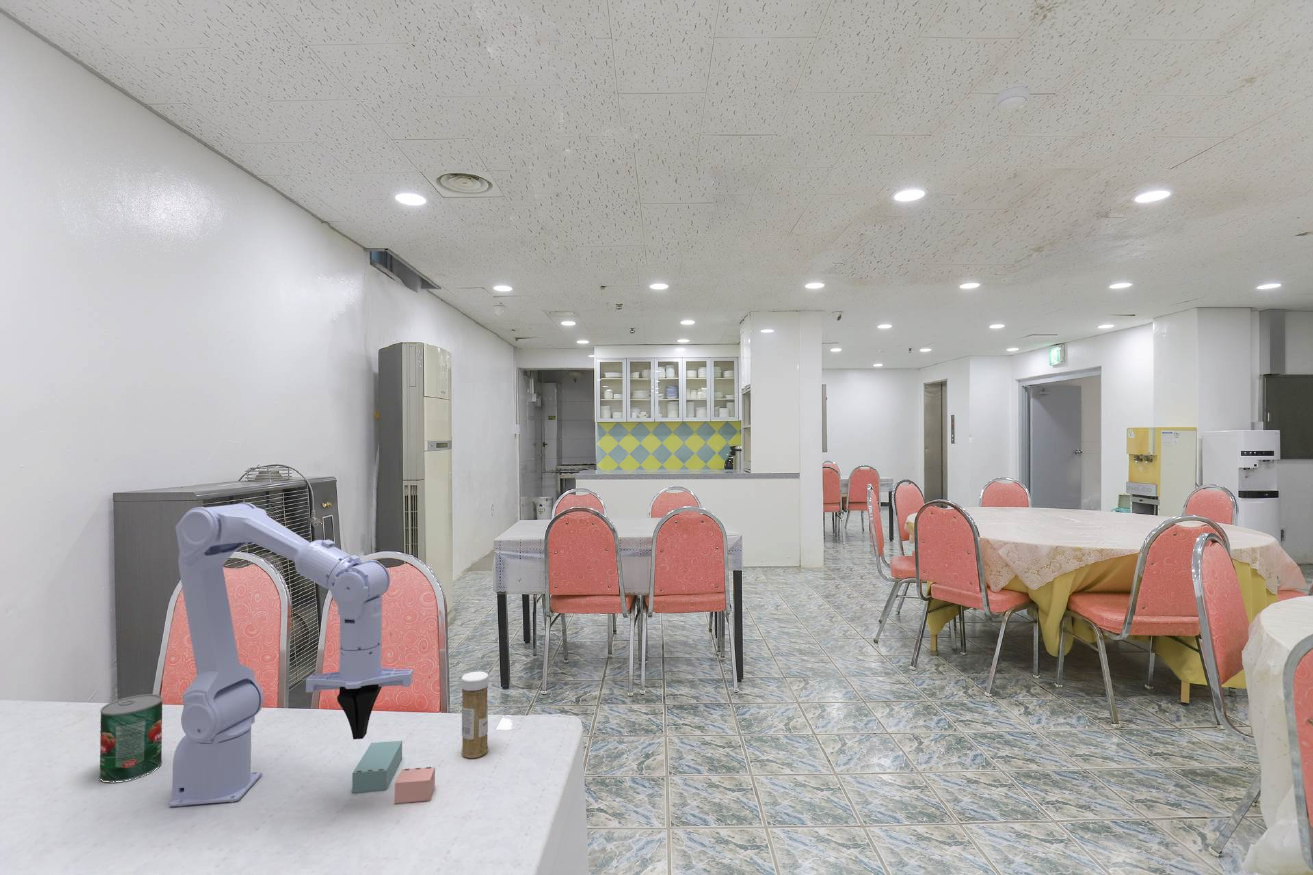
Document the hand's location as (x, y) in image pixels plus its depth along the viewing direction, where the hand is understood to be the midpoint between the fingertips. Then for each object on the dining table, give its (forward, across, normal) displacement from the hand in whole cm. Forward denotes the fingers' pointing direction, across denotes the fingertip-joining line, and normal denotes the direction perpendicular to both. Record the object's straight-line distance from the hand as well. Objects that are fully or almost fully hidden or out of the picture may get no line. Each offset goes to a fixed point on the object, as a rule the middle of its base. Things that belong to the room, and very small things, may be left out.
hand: (360, 736), depth 93 cm
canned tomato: (+10, -40, +16) cm, 44 cm away
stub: (+10, +8, +1) cm, 13 cm away
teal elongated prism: (+10, +1, +8) cm, 13 cm away
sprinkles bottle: (+10, +15, +13) cm, 22 cm away
